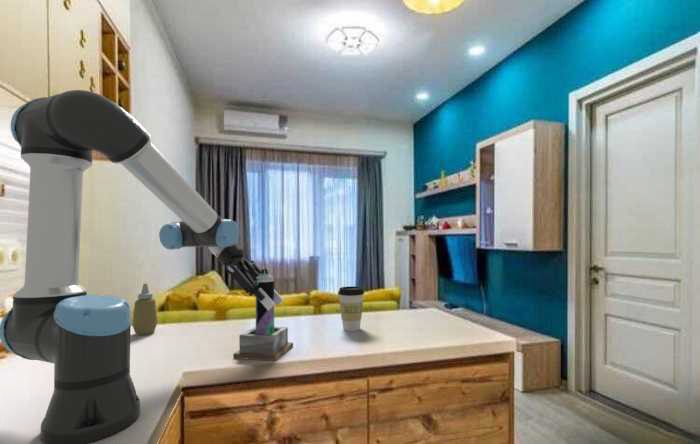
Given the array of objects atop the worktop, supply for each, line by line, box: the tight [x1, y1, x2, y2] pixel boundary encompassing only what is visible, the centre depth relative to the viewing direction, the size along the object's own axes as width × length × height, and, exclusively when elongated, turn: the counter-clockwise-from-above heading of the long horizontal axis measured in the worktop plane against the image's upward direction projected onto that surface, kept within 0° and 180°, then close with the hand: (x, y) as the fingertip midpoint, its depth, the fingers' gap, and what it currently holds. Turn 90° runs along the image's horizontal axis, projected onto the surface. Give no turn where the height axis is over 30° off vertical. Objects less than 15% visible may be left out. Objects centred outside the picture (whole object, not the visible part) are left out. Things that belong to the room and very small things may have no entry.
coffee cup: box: [337, 285, 365, 332], centre depth 132 cm, size 10×10×15 cm
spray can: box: [254, 269, 275, 335], centre depth 108 cm, size 6×6×20 cm
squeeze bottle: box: [131, 283, 158, 336], centre depth 130 cm, size 8×8×18 cm
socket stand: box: [232, 326, 294, 362], centre depth 107 cm, size 13×13×6 cm
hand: (276, 304), depth 107 cm, fingers closed on spray can, 5 cm apart
